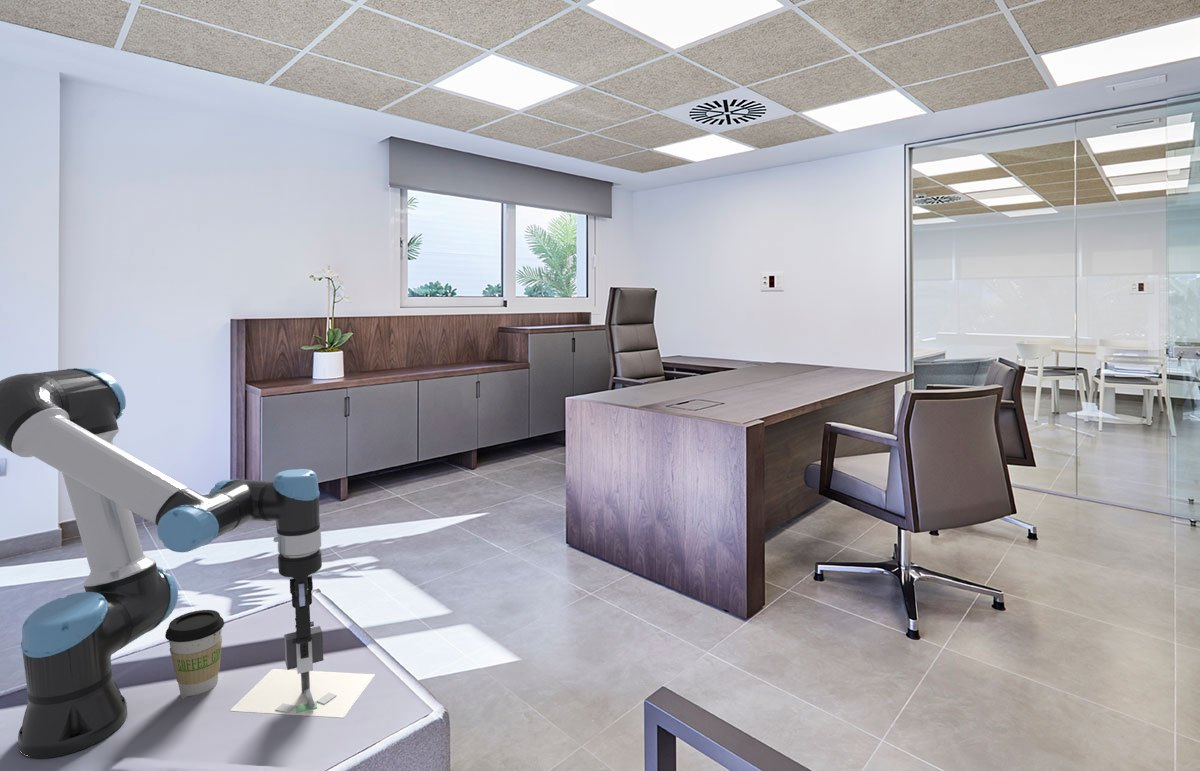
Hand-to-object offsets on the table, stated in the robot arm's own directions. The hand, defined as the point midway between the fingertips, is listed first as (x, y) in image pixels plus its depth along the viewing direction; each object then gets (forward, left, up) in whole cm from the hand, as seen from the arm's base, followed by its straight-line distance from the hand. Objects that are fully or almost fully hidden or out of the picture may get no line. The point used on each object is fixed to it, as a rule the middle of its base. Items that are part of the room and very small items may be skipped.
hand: (304, 666), depth 124 cm
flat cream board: (0, 0, -7) cm, 7 cm away
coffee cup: (-22, 0, -7) cm, 23 cm away
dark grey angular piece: (+2, -2, -5) cm, 6 cm away
